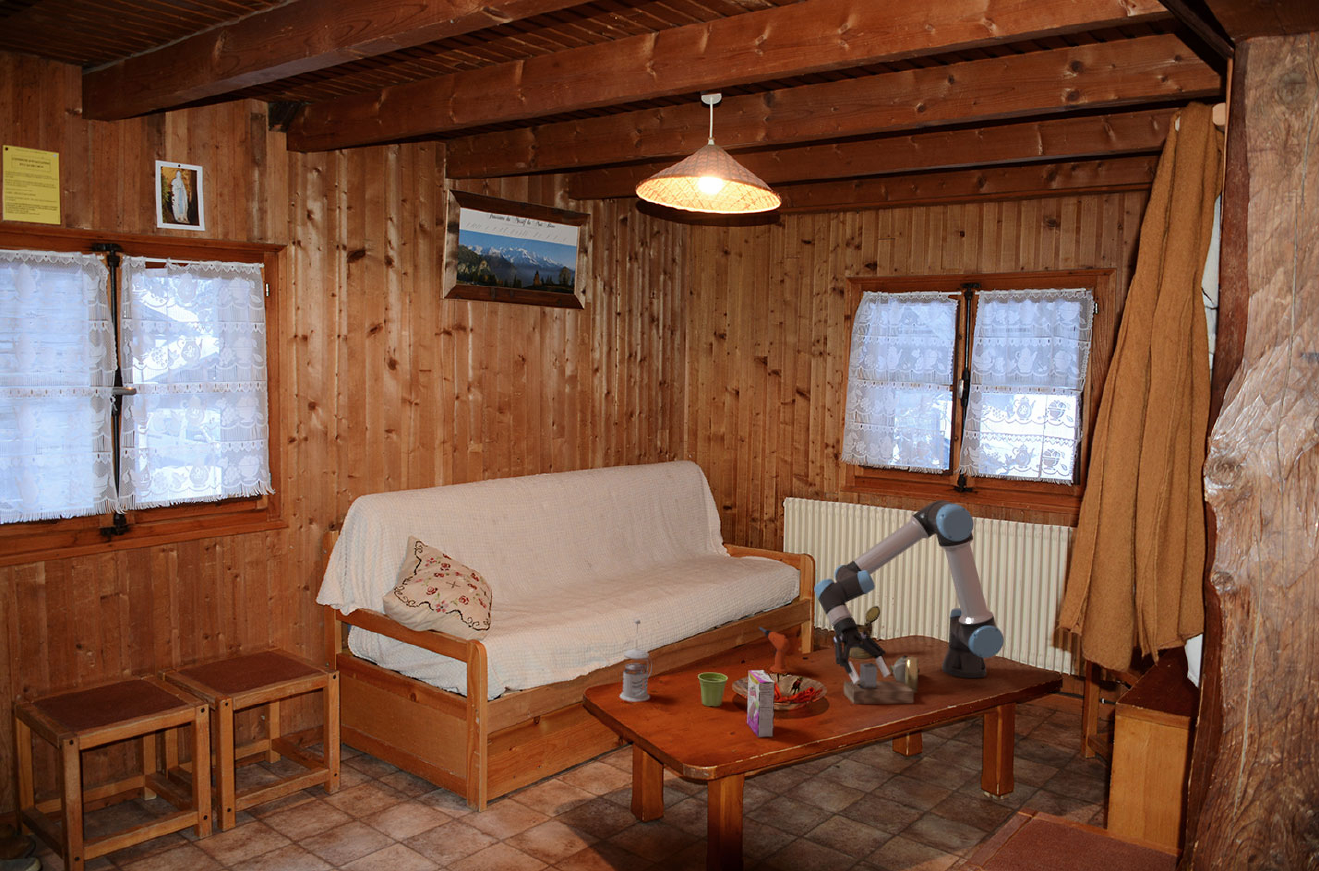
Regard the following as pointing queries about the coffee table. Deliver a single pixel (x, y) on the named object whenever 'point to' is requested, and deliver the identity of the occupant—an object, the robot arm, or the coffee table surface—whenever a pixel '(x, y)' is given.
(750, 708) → the candy bar box
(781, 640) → the toy drill
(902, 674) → the ceramic sculpture
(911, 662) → the brass cylinder
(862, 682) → the square bit
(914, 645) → the coffee table surface
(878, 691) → the socket block
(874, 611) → the tan piece
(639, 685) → the french press
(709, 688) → the plant pot
